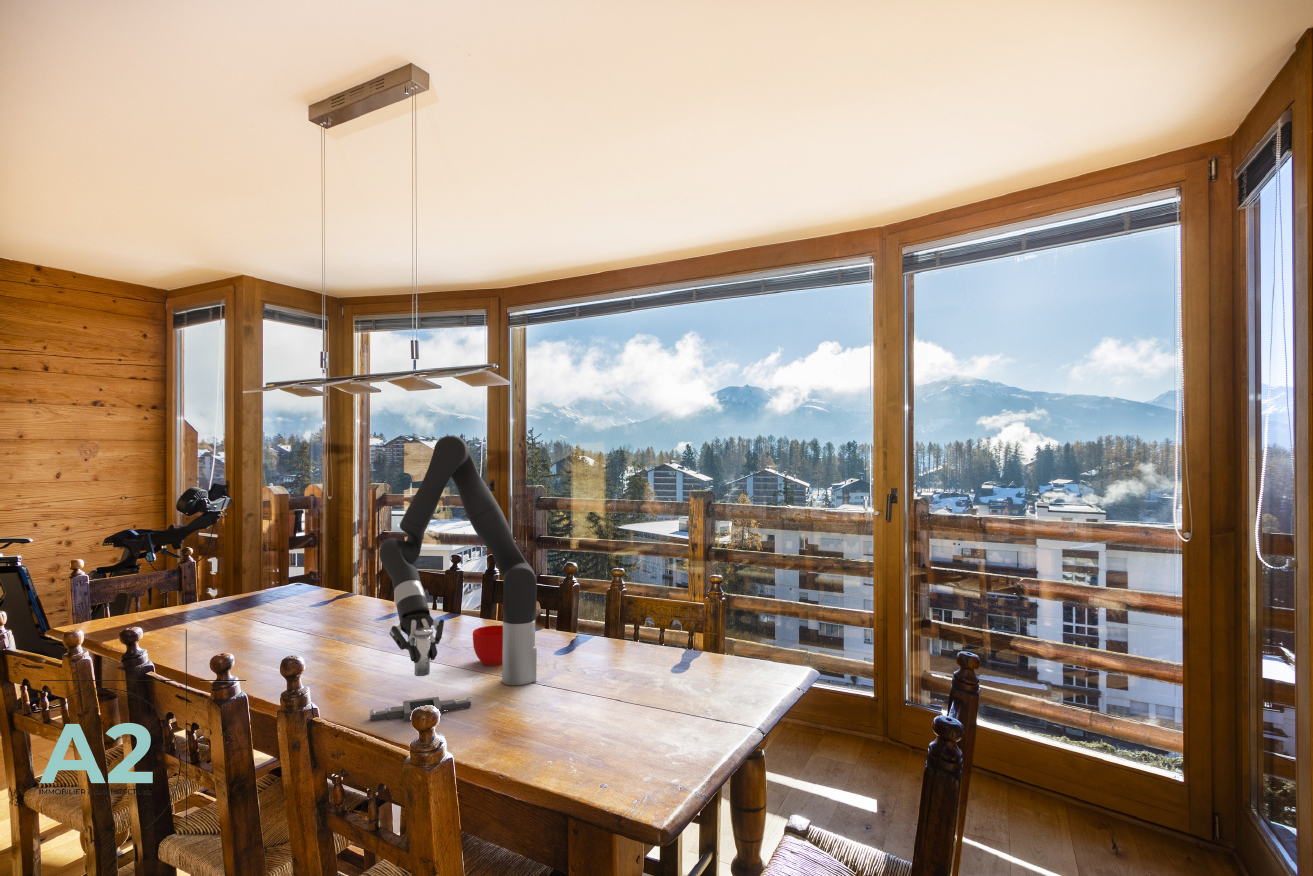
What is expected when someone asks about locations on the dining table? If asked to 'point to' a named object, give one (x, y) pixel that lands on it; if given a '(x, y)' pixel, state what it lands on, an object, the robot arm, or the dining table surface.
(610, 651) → the dining table surface
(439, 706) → the tap wrench handle
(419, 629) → the pin
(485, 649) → the ceramic cup
